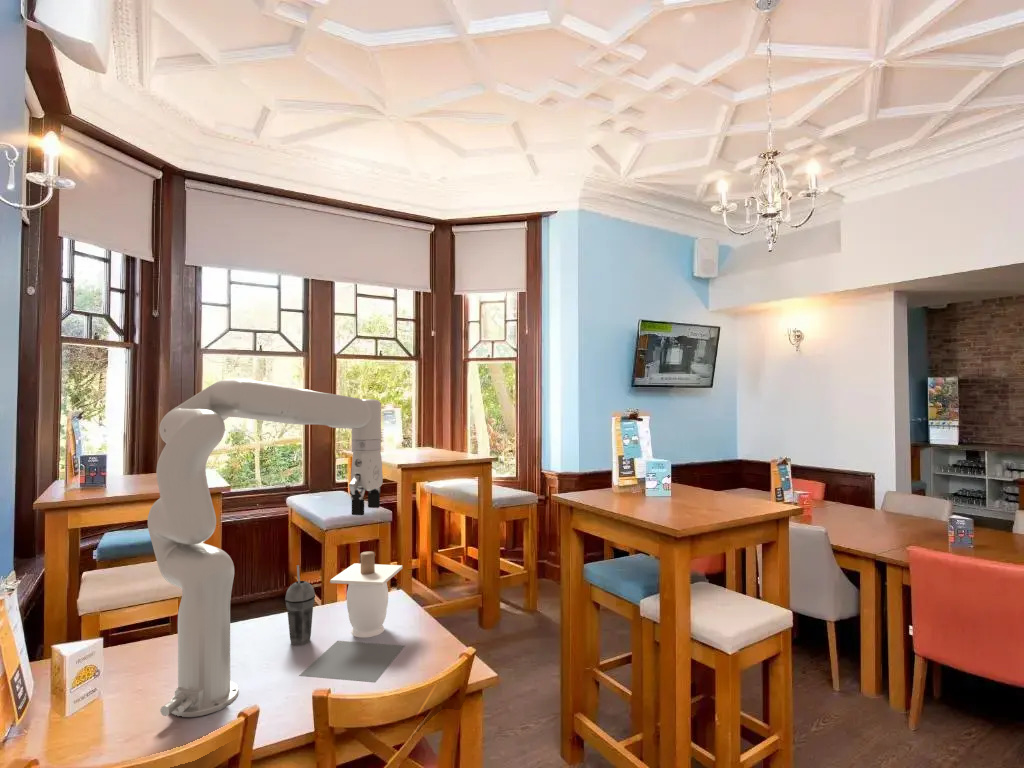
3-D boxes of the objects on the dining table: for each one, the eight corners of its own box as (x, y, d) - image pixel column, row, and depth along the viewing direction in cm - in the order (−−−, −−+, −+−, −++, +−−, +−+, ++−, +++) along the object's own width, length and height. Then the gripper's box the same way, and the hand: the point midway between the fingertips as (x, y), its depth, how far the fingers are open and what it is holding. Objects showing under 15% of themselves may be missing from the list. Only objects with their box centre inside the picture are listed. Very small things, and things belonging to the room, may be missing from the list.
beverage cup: (320, 637, 148) (320, 560, 149) (307, 650, 141) (307, 568, 141) (293, 636, 149) (293, 559, 149) (279, 649, 142) (279, 568, 142)
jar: (342, 641, 146) (342, 582, 146) (352, 624, 156) (351, 569, 157) (384, 640, 146) (384, 581, 147) (391, 624, 157) (391, 568, 157)
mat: (375, 684, 125) (375, 682, 125) (298, 677, 128) (298, 675, 128) (405, 647, 142) (405, 645, 142) (337, 642, 145) (337, 640, 145)
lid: (382, 585, 144) (382, 562, 144) (330, 583, 146) (330, 560, 146) (402, 568, 157) (402, 547, 157) (354, 566, 160) (354, 545, 160)
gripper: (365, 449, 143) (365, 518, 142) (392, 443, 160) (392, 505, 159) (337, 448, 144) (337, 517, 144) (366, 443, 161) (366, 504, 161)
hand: (366, 511), depth 152 cm, fingers open, 9 cm apart
